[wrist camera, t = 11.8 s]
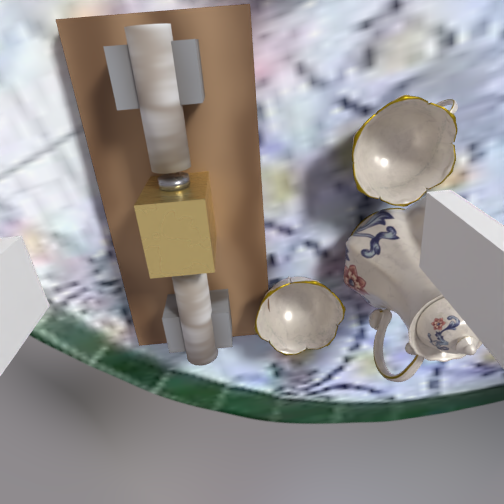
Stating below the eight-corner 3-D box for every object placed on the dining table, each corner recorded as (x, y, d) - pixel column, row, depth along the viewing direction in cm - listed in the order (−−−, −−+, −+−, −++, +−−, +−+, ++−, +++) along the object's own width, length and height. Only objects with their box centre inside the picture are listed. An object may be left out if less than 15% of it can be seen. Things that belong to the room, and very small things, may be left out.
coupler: (207, 162, 34) (203, 188, 28) (217, 242, 38) (216, 281, 32) (148, 167, 34) (131, 194, 28) (164, 247, 38) (152, 287, 32)
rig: (248, 6, 31) (254, -4, 25) (269, 321, 45) (276, 366, 39) (65, 20, 31) (25, 15, 25) (142, 333, 45) (129, 380, 39)
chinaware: (352, 60, 35) (414, 60, 20) (519, 131, 37) (691, 178, 22) (242, 314, 46) (230, 436, 31) (374, 358, 48) (422, 492, 33)
